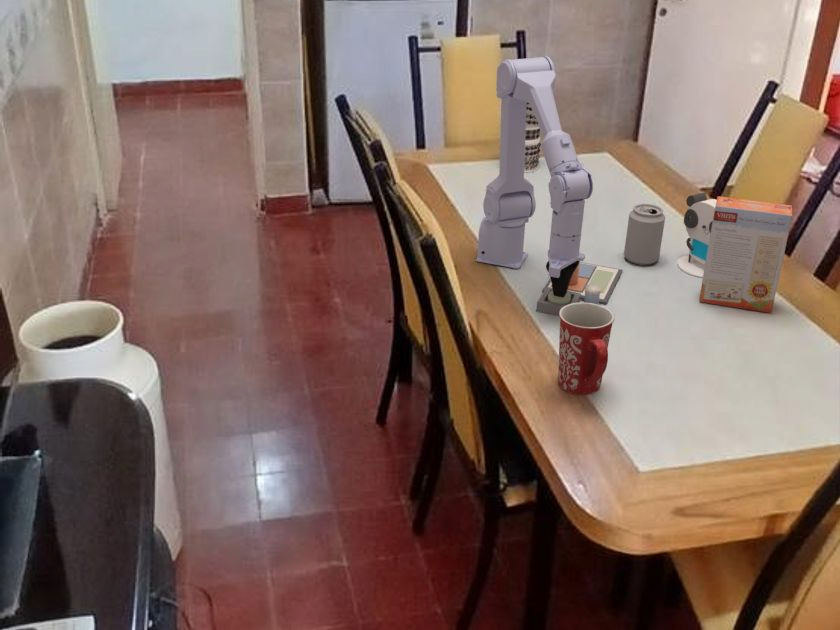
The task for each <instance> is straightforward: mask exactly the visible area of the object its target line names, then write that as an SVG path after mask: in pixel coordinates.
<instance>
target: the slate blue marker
mask: <svg viewBox="0 0 840 630" xmlns="http://www.w3.org/2000/svg"><path fill="white" fill-rule="evenodd" d="M600 291H601V287H600V286H598V285H596V284H588V285H586V287H585V297H584V301H583V303H593V304H597V305H600V304H599V297H600Z"/></svg>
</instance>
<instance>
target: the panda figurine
mask: <svg viewBox="0 0 840 630" xmlns="http://www.w3.org/2000/svg"><path fill="white" fill-rule="evenodd" d="M707 198H708V197H707V195H706V193H705V192H700V193H695V194H692V195H689V196H687V198H686V206H687V207H689V208H688V209H686V212H685V214H684V216H683V217H684V218H683V225H684V226H685V230H686V232H687V235H688V238H686V246H687V248H688V250H689V252H688V255H683V256H681V257H680V258H679V259H677V261H676V262H677V264H676V265H677V268H678V269H679V270H680V271H681V272H683V273H685V274H686V275H689V276H692V277H694V278H698V279H703V274H704V268H705V262H706V256H707V250H708V245H709V239H710V233H711V228H712V223H713V217H714V212H715V206H716V202H717V198H716V199H715V198H710V199H707Z"/></svg>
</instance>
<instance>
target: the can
mask: <svg viewBox="0 0 840 630" xmlns="http://www.w3.org/2000/svg"><path fill="white" fill-rule="evenodd" d="M663 212H664V210H663V208H662V207H660V206H659V205H656V204H652V203H639V204H635V205H634V206H633V208H632V210H631V211H630V212H629V213H628V220H627V221H628V222H627V227H626V228H627V229H626V237H625V241H624V243H625V244H624V250H623V255H624V257H625V258H626V259H627V261H628V260H629V261H630V263H631V264H633V263H634V265H637V264H638V265H637V266H650V265H653V264H654V263H656V262H658V261H659V259H660V253H661V248H662V241H663V234H664V228H665V221H666V216H665V214H664V213H663ZM629 261H628V262H629Z"/></svg>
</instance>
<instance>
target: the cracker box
mask: <svg viewBox="0 0 840 630" xmlns="http://www.w3.org/2000/svg"><path fill="white" fill-rule="evenodd" d="M716 197H717V198H716V200H717V202H716V206H715V212H714V217H713V223H712V228H711V233H710V239H709V245H708V250H707V256H706V262H705V268H704V274H703V278H702V281H701V286H700V292H699V300H698V301H699V302H700V303H705V304H711V305H712V304H713V305H719V306H726V307H729V308H730V307H732V308H737V309H745V310H750V311H756V312H763V313H769V314H771V313H772V312H773V307H774V303H775V298H776V293H777V288H778V283H779V281H780V280H779V279H780V275H781V271H782V266H783V261H784V258H785V257H784V256H785V251H786V247H787V242H788V238H789V234H790V233H789V232H790V227H791V223H792V219H793V205H791V204H783V203H775V202H768V201H759V200H751V199H745V198H744V199H743V198H734V197H729V196H728V197H727V196H716Z"/></svg>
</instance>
